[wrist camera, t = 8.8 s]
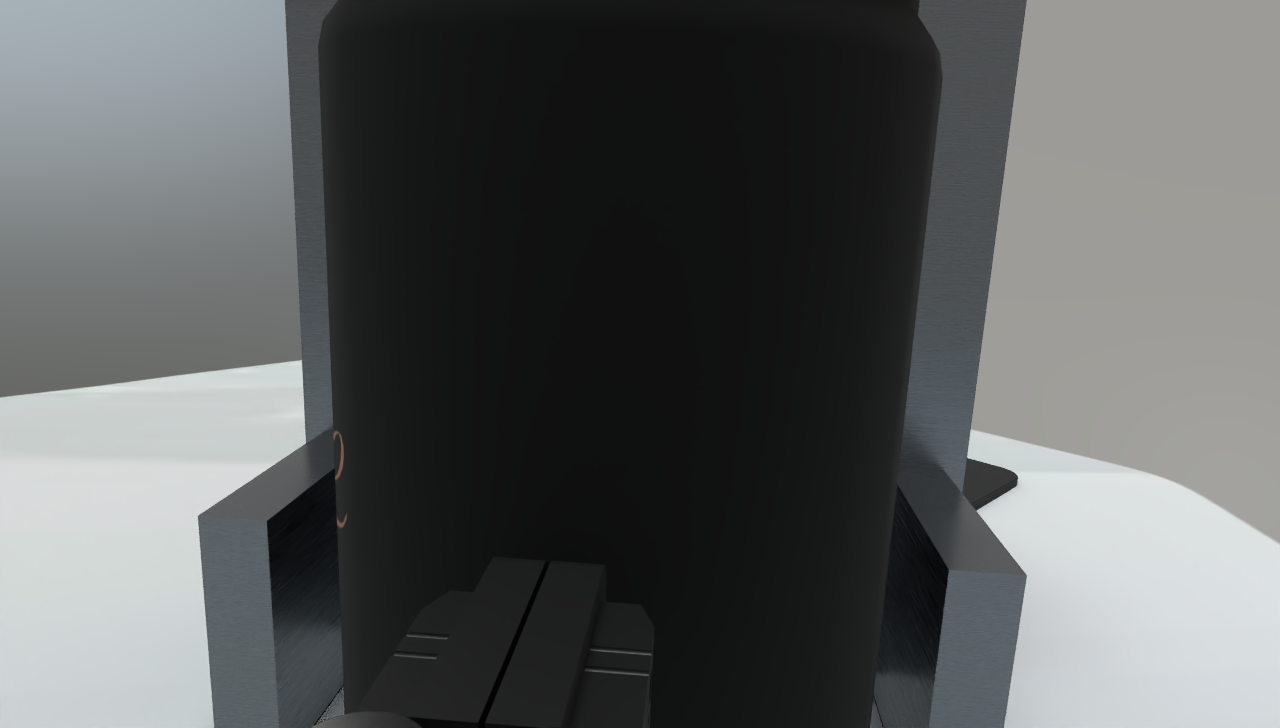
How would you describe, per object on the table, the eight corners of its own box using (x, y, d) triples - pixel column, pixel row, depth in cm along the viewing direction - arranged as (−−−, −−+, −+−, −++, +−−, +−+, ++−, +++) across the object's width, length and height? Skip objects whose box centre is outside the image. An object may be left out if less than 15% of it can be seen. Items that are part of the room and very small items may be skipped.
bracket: (1011, 837, 18) (1203, -369, 13) (196, 762, 19) (100, -367, 15) (921, 638, 26) (1021, -170, 21) (343, 593, 27) (312, -180, 22)
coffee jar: (558, 624, 26) (572, -13, 22) (915, 758, 21) (1017, -52, 17) (234, 848, 17) (159, -151, 13) (712, 1189, 12) (829, -333, 8)
